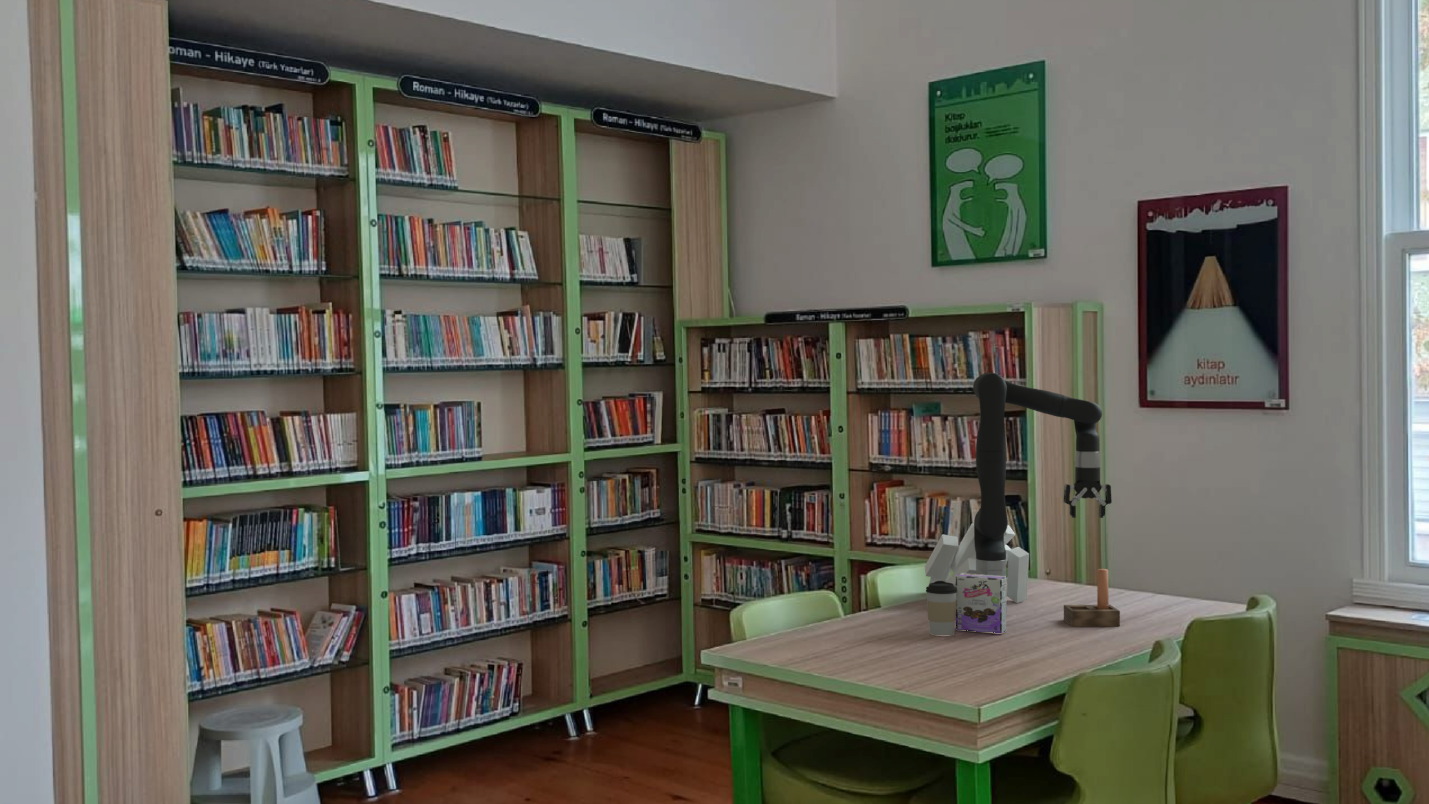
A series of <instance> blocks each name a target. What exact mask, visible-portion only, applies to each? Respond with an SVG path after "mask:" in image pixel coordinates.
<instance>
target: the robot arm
mask: <svg viewBox="0 0 1429 804" xmlns="http://www.w3.org/2000/svg"><path fill="white" fill-rule="evenodd" d="M972 387H973V388H972V389H973V393H974V395H975V396H976V397H977V398H978V400H979V411H980V412H979V413H980V415H979V416H980V417H979V418H980V420H979V425H978V431H977V436H976V442H975V466H976V467H975V468H976V474H977V479H978V484H979V488H980V509H979V510H978V511H977V512H976V513H975V516H974V519H973V521H974V522H973V524H974V543H975V551H976V574H981V575H996V576H1006V577H1007V563H1006V550H1005V546H1004V533H1005V531H1006V529H1007V526H1008V525H1009V524H1008V523H1009V522H1008V514H1007V506H1006V505H1007V503H1006V476H1007V473H1006V472H1007V443H1006V441H1007V440H1006V439H1007V438H1006V425H1005V409H1006V404H1010V405H1015V406H1018V407H1022V408H1026V409H1029V410H1032V411H1035V412H1038V413H1042V414H1045V415H1049V416H1052V417H1056V418H1057V417H1058V418H1065V419H1069V420H1073V423H1074V429H1075V431H1074V432H1075V437H1076V438H1075V455H1074V457H1075V458H1074V484H1068V483H1065V484H1064V488H1063V503H1064V504H1067V505H1069V515H1070V516H1071V518H1072V519H1076V517H1077V514H1076V512H1077V511H1076V509H1077V508H1076V504H1077V503H1078V502H1079V501H1080V499H1095V500H1096V501H1097V502H1098V504H1099V505H1098V508H1099V509H1098V517H1099V518H1100V519H1103V518H1104V517H1105V515H1106V506H1107V505H1110V504H1112V503H1113V502H1112V501H1113V500H1112V499H1113V498H1112V486H1111V485H1110V484H1108V483H1105V484H1101V455H1100V436H1099V433H1098V432H1097V423H1098V422H1099V421H1100V420H1101V419H1102V417H1103V410H1102V407H1101V406H1099V405H1098V404H1097V403H1096V402H1094V401H1089V400H1084V399H1080V398H1073V397H1070V396H1067V395H1064V394H1062V393H1061V394H1060V393H1057V392H1053V391H1048V390H1046V389H1045V390H1044V389H1038V388H1033V387H1028V386H1023V385H1018V384H1015V383H1012V382H1010V381H1007V380H1005V379H1004V378H1003V376H1002V375H1000V374H998V373H995V372H984V373H981V374H980V375H979V376H978V377H976V378H975V380H974V381H973V385H972ZM1073 489H1074V491H1075V494H1074V495H1073V497H1072V498H1071V499H1070V495H1071V492H1072V491H1073ZM1101 490H1102V491H1103V492H1104V493H1105V494H1104V496H1105V497H1104V498H1105V500H1104V499H1103V497H1102V496H1101V495H1100V491H1101ZM1007 609H1008V608H1007V606H1006V610H1007Z"/></svg>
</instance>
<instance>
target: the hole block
mask: <svg viewBox="0 0 1429 804" xmlns="http://www.w3.org/2000/svg"><path fill="white" fill-rule="evenodd" d="M1120 614H1121V611H1120V610H1119V609H1117V608H1116V607H1114V606H1113V605H1111V604H1109V609H1097V604H1064V605H1063V620H1064V621H1065V620H1066V621H1067V622H1068V623H1067V622H1066V621H1065V622H1066V623H1067V624H1069V625H1070V626H1071V627H1121V615H1120Z"/></svg>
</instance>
